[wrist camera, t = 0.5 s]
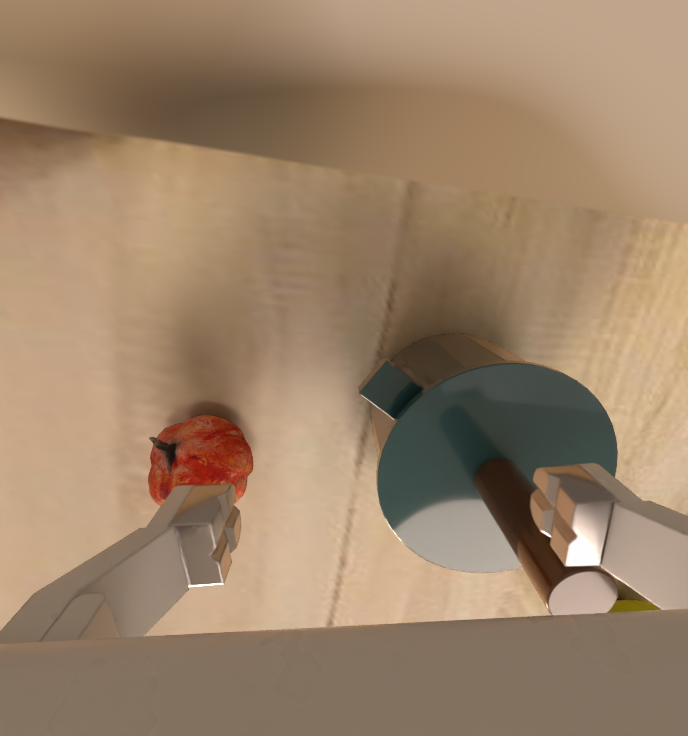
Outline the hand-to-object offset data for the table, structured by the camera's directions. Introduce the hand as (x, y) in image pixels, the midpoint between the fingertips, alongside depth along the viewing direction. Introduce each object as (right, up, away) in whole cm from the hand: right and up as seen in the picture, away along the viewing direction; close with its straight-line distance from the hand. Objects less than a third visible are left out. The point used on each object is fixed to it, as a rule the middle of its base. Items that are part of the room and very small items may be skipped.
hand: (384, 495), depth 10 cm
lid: (+7, -2, +11) cm, 14 cm away
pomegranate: (-12, -3, +21) cm, 24 cm away
